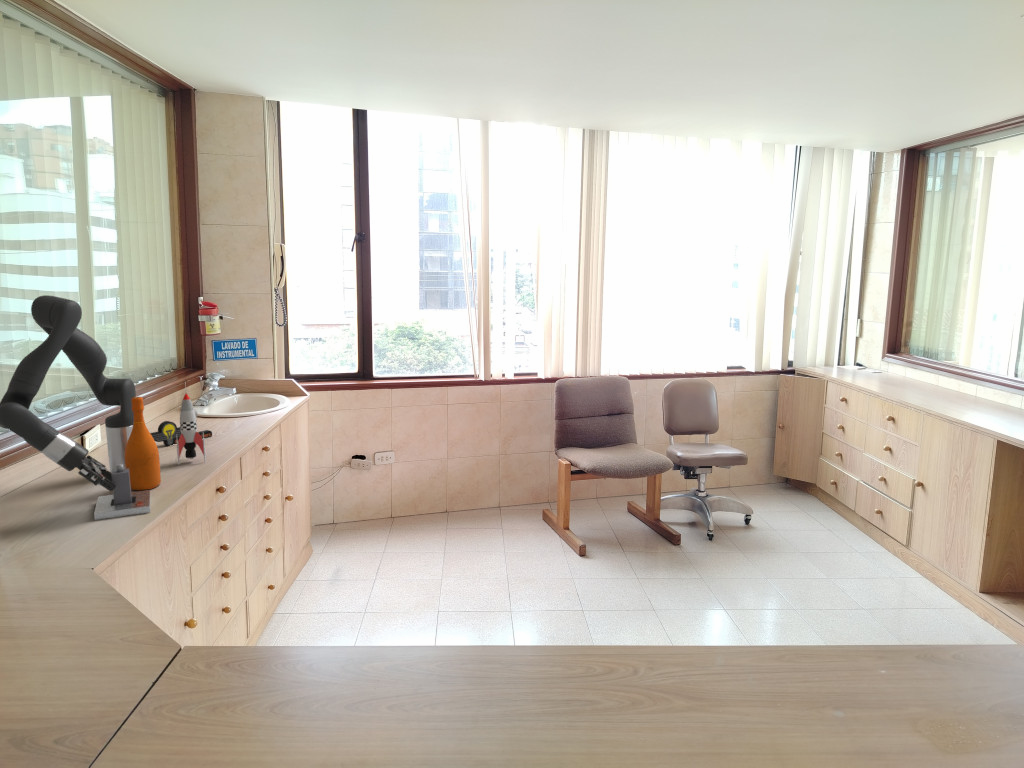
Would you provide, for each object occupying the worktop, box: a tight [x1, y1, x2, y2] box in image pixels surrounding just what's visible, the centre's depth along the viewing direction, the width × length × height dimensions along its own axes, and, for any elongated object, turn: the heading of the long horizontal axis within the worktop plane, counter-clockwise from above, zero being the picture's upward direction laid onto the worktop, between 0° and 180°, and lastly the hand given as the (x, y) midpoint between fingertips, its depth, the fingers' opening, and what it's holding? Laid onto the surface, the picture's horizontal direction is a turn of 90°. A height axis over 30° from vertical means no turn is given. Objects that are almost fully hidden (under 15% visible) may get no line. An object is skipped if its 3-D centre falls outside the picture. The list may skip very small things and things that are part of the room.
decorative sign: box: [150, 420, 213, 447], centre depth 277 cm, size 27×2×10 cm, turn 146°
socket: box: [93, 489, 152, 521], centre depth 205 cm, size 16×14×3 cm
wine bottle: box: [125, 396, 162, 491], centre depth 221 cm, size 10×10×30 cm
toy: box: [176, 381, 207, 465], centre depth 249 cm, size 9×8×30 cm
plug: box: [111, 464, 132, 506], centre depth 204 cm, size 4×4×13 cm
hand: (114, 484), depth 203 cm, fingers open, 8 cm apart
